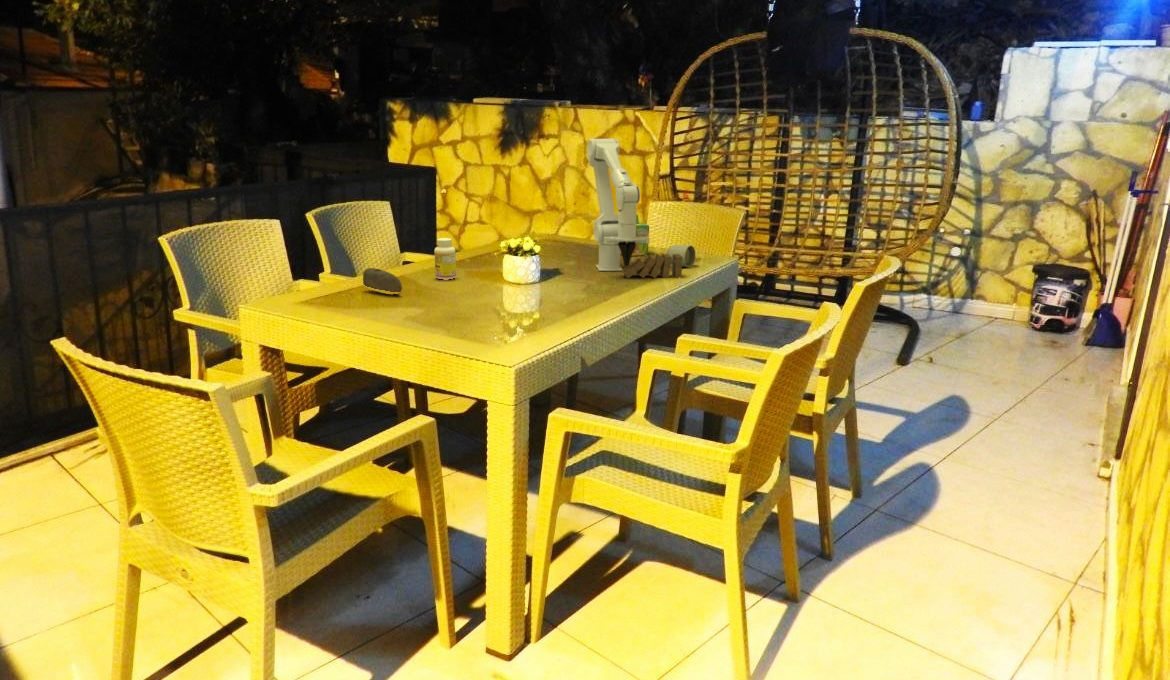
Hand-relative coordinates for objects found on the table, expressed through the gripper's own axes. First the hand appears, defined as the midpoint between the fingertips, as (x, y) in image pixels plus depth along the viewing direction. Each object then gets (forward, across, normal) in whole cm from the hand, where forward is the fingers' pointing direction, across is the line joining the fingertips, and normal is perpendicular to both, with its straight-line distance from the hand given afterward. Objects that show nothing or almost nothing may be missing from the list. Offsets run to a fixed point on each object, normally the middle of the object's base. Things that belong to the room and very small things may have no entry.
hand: (626, 265), depth 277 cm
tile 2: (+3, +4, 0) cm, 6 cm away
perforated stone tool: (+4, -76, -18) cm, 78 cm away
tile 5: (+4, +17, 0) cm, 17 cm away
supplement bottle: (+4, -58, +2) cm, 58 cm away
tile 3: (+3, +8, 0) cm, 9 cm away
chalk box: (+4, +10, +42) cm, 43 cm away
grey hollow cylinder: (+4, +22, +17) cm, 28 cm away
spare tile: (+3, 0, 0) cm, 3 cm away
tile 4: (+4, +13, 0) cm, 13 cm away
